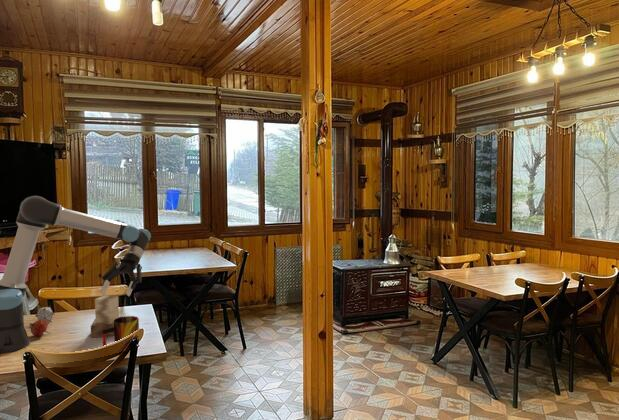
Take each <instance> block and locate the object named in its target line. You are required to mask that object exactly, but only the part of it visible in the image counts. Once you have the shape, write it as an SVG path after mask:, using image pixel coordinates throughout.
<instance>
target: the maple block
mask: <svg viewBox="0 0 619 420" xmlns="http://www.w3.org/2000/svg"><path fill="white" fill-rule="evenodd" d="M94 308H95V309H94V310H95V313H94V314H95V319H96V323H103V324H111V323H113V322H114V320H115V319H117V318H119V317H120V314H119V313H120V312H119V311H120V309H119V295H111V294H110V295H109V294H108V295H107V294H104V295H102V296H100V297H97V298H95V299H94Z"/></svg>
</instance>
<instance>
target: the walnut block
mask: <svg viewBox="0 0 619 420" xmlns="http://www.w3.org/2000/svg"><path fill="white" fill-rule="evenodd" d="M120 317H124V316H123V315H122V316H121V315H119V318H120ZM112 327H114V322H113V323H111V324H103V323H96V318H95V319H93V322H92V323H91V325H90V339H91V340H93V339H94V340H95V339H103V331H102V330H104V329H108V328H112ZM106 338H114V332H110V333H106Z"/></svg>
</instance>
